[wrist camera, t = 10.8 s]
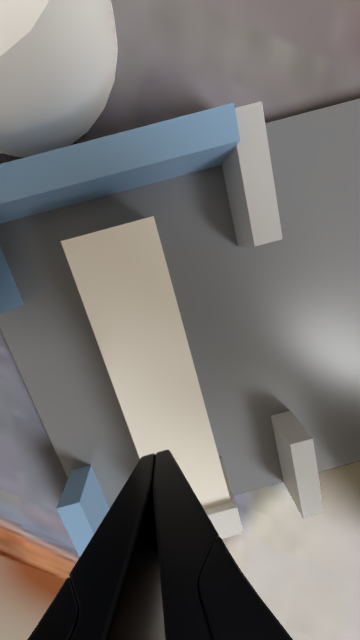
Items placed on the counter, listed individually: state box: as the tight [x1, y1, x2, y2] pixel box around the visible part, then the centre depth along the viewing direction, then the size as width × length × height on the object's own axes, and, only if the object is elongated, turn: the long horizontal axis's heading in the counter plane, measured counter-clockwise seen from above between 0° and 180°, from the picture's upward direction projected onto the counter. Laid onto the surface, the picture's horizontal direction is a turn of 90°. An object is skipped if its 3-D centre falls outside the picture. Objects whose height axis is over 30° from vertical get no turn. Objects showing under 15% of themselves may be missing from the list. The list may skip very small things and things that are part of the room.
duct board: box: [0, 99, 360, 557], centre depth 14 cm, size 20×27×4 cm
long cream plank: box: [61, 216, 244, 539], centre depth 14 cm, size 16×4×3 cm, turn 15°
